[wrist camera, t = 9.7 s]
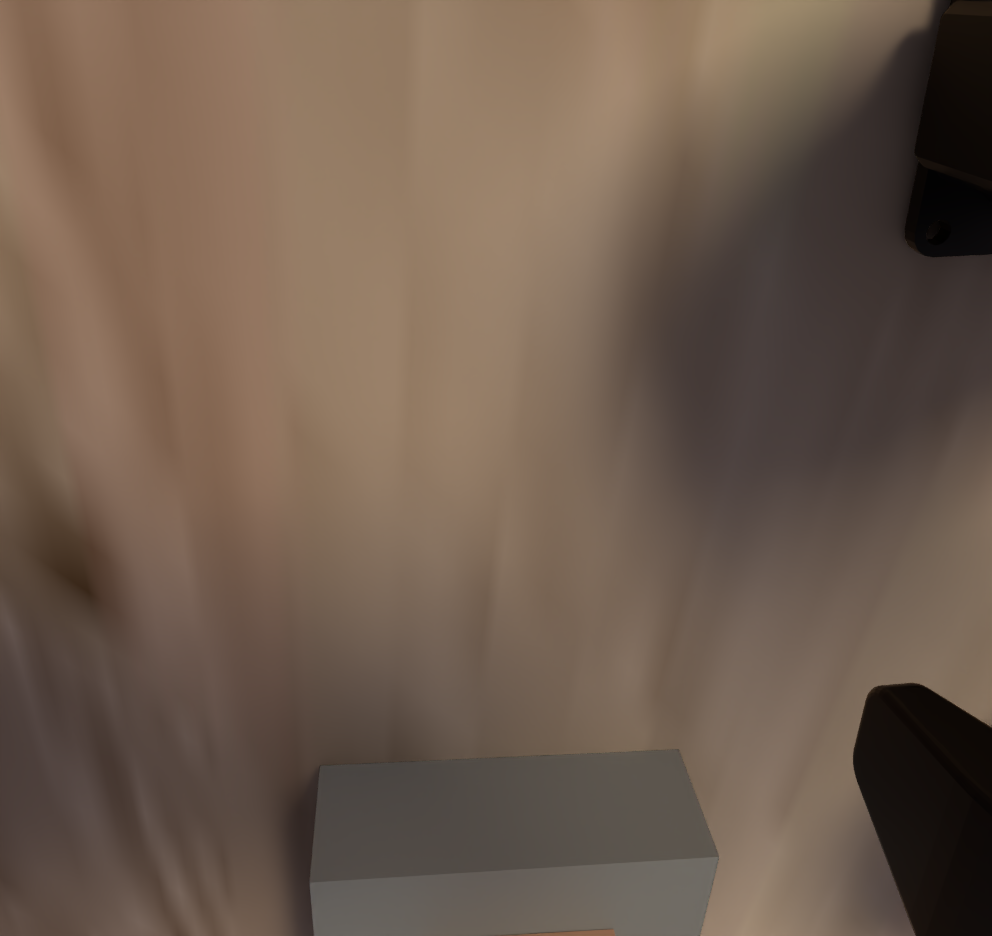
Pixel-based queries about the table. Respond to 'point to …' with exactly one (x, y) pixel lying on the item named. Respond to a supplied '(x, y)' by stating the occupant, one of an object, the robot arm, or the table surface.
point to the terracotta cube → (574, 933)
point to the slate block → (511, 847)
